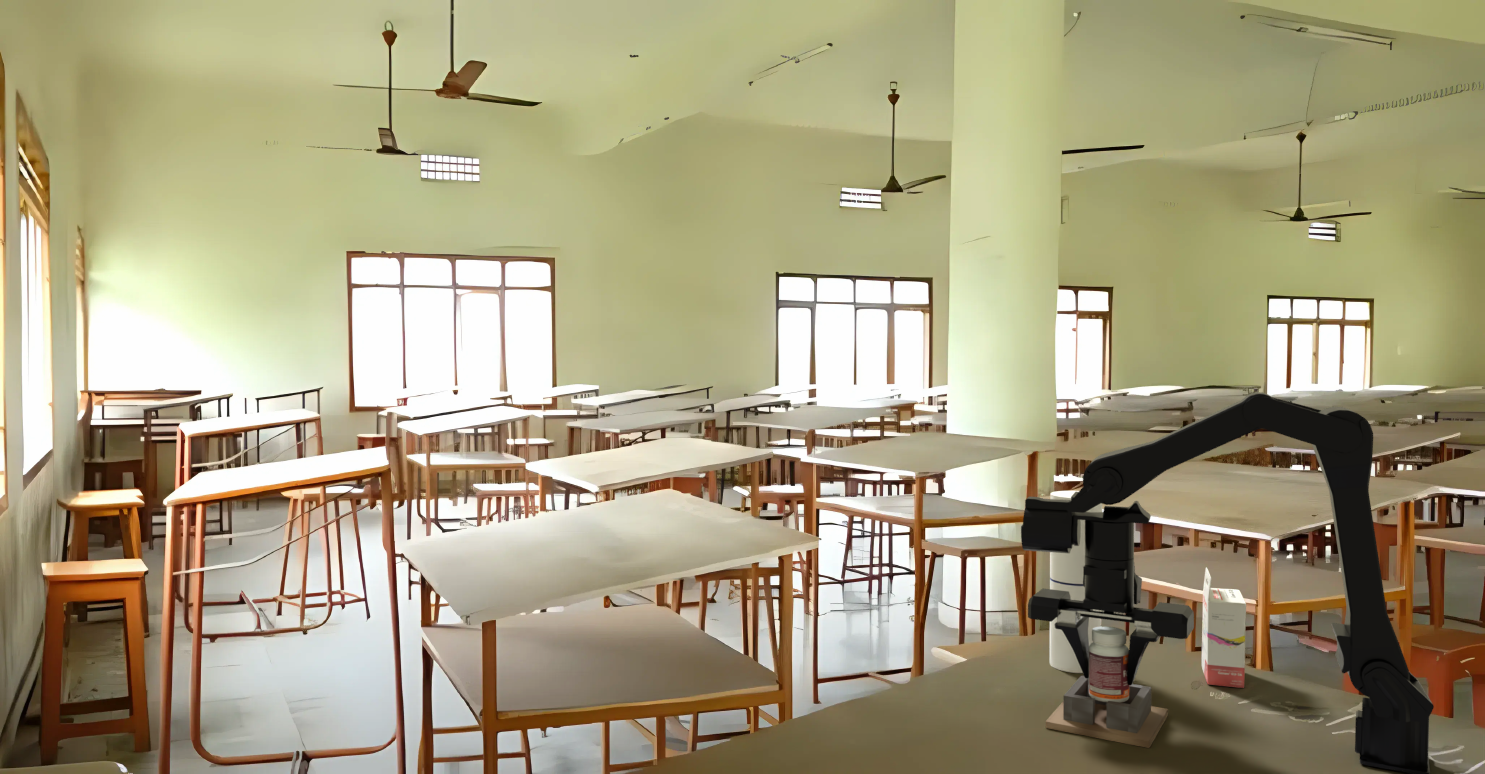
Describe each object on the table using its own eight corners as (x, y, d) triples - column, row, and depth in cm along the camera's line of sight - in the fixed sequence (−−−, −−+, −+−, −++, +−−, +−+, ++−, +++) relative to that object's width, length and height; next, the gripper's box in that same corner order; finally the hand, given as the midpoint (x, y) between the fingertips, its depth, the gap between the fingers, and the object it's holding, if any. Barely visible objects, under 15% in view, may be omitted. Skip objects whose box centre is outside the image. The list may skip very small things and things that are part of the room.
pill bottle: (1132, 704, 124) (1132, 636, 123) (1091, 702, 125) (1091, 634, 124) (1125, 691, 128) (1126, 625, 128) (1086, 689, 129) (1086, 624, 129)
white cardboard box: (1246, 689, 138) (1248, 581, 137) (1206, 685, 139) (1207, 578, 138) (1238, 669, 146) (1240, 567, 145) (1200, 666, 147) (1201, 565, 147)
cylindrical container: (1039, 661, 150) (1039, 492, 149) (1076, 654, 153) (1077, 489, 152) (1073, 675, 144) (1074, 499, 142) (1112, 668, 147) (1113, 495, 145)
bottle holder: (1167, 714, 128) (1168, 685, 128) (1149, 747, 118) (1149, 715, 118) (1071, 697, 135) (1071, 669, 135) (1045, 727, 125) (1045, 696, 125)
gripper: (1201, 551, 127) (1200, 674, 128) (1050, 537, 137) (1050, 652, 138) (1186, 569, 118) (1185, 701, 119) (1026, 553, 128) (1026, 675, 129)
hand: (1108, 680), depth 126 cm, fingers closed on pill bottle, 5 cm apart
